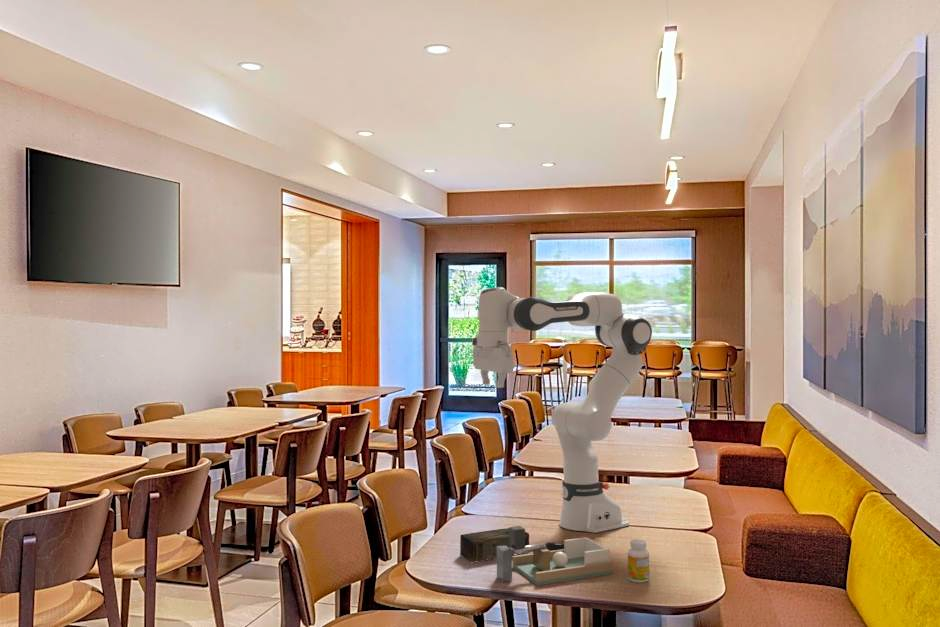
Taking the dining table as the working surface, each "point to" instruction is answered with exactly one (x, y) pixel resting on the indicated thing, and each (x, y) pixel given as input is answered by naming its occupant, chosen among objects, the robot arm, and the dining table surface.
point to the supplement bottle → (638, 561)
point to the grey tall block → (504, 563)
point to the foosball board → (568, 563)
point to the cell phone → (554, 546)
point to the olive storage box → (485, 544)
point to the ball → (560, 559)
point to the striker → (529, 548)
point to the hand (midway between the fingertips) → (493, 386)
